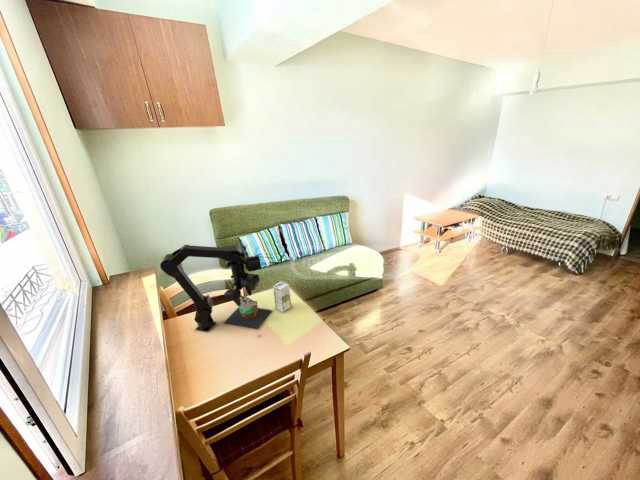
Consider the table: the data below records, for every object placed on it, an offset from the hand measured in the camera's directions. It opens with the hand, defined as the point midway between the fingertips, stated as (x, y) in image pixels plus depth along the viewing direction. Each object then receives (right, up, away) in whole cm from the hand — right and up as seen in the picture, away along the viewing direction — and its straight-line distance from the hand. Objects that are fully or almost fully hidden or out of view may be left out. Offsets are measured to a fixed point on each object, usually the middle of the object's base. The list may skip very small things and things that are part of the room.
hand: (244, 300), depth 135 cm
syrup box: (+16, -6, +12) cm, 21 cm away
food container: (-1, -9, +4) cm, 10 cm away
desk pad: (0, -9, +5) cm, 10 cm away
